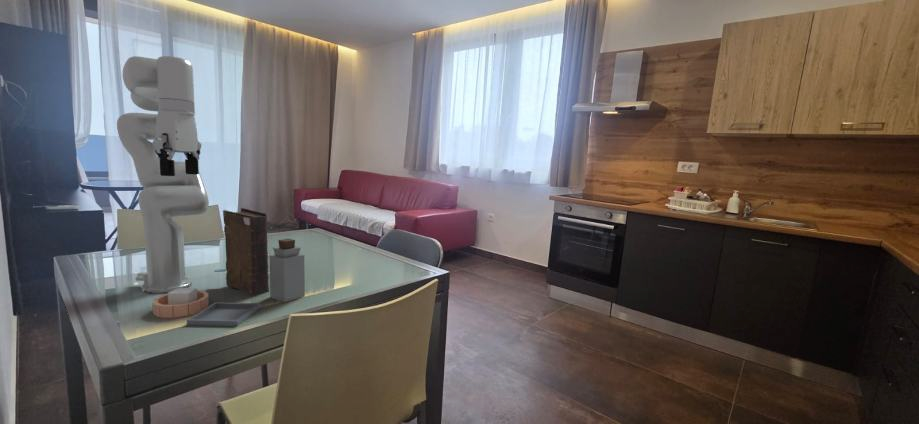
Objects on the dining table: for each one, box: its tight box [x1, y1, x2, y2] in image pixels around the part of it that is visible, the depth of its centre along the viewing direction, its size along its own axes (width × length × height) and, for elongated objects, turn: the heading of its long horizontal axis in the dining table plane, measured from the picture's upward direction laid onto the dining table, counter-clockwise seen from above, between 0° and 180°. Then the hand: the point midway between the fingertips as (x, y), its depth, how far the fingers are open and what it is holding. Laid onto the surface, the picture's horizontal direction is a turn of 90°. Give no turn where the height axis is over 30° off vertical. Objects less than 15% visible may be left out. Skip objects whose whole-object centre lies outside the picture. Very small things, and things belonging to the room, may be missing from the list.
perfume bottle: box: [268, 238, 306, 303], centre depth 116 cm, size 7×7×18 cm
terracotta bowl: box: [152, 289, 210, 319], centre depth 105 cm, size 12×12×4 cm
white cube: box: [167, 287, 198, 305], centre depth 105 cm, size 5×4×5 cm
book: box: [222, 207, 270, 295], centre depth 122 cm, size 17×7×25 cm, turn 50°
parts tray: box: [186, 301, 261, 327], centre depth 102 cm, size 12×12×2 cm
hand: (180, 175), depth 104 cm, fingers open, 9 cm apart
